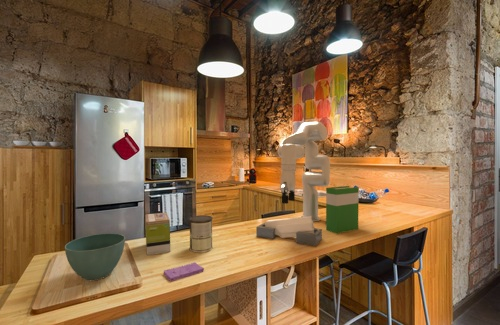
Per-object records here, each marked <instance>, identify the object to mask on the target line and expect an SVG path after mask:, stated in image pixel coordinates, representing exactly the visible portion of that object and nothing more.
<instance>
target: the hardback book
mask: <svg viewBox="0 0 500 325" xmlns="http://www.w3.org/2000/svg"><path fill="white" fill-rule="evenodd" d="M325 188H326V189H325V194H326V195H325V197H326V198H325V199H326V200H325V202H326V203H325V214H326V215H325V231H328V232H331V233H333V234H337V235H338V234H340V233H341V234H342V233H345V232H349V231H350V232H351V231H354V230H359V200H360V198H359V195H360V194H359V191H360V190H359V189H360V188H359V186H355V187H353V186H352V187H350V185H343V186H332V187H325Z"/></svg>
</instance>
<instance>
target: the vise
mask: <svg viewBox="0 0 500 325" xmlns="http://www.w3.org/2000/svg"><path fill="white" fill-rule="evenodd" d="M255 230H256V232H255V233H256V235H255V236H256V237H257V238H263V239H269V240H270V239H271V240H274V239H276V235H275V228H270V227H265V222H263V223H262V224H259V225H257V226H256V228H255ZM322 239H323V229H322V228H316V227H314V234H312V233H305V232H297V233H296V237H295V242H296V244H300V245H304V244H305V245H306V246H311V247H317V246H318V245H319V243H320V242H321V241H322Z"/></svg>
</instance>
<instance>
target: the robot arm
mask: <svg viewBox="0 0 500 325" xmlns="http://www.w3.org/2000/svg"><path fill="white" fill-rule="evenodd" d="M328 136H329V135H328V128H327V127H326V126H325V124H323V123H322V122H321V121H304V122H302V123H301V124H300V125H299V126H298V127H297V129H296V131H295V133H294V134H291V135H289V136H287V137H286V138H284V139H283V140H282V141H281V143H280V144H279V145H278V149H277V155H278V157H279V158H281V159H280V160H281V162H280V163H281V164H280V168H281V170H280V172H281V174H280V185H279V186H280V187H279V189H280V191H281V203H282V204H287V205H288V204H289V201H290V202H291V201H292V202H295V201H296V200H295V198H296V197H295V196H296V172H297V159H302V158H303V157H304V167H305V168H306V169H307V170H313V171H304V172H303V173H302V174H301V182H302V200H303V201H302V203H303V204H302V216H301V217H310V216H311V218H312V221H313V223H314V222H319V221H321V217H320V216H319V192H318V190H317V188H316V187H320V188H321V187H324V188H327V187H328V186H329V185H330V178H331V177H330V176H331V159H330V156H328V155H325V154H319V148H320V147H319V146H318V144H317V143H316V142H318V141H319V142H320V141H325V140H327V138H328ZM315 141H316V142H315ZM314 170H320V171H314Z"/></svg>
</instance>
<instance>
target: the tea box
mask: <svg viewBox="0 0 500 325" xmlns="http://www.w3.org/2000/svg"><path fill="white" fill-rule="evenodd" d="M144 216H145V218H144V219H145V246H146V255H147V256H150V255H157V254H165V253H170V252H171V220H170V218H169V215H168V213H167V212H158V213H149V214H148V213H147V214H145V215H144Z"/></svg>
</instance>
